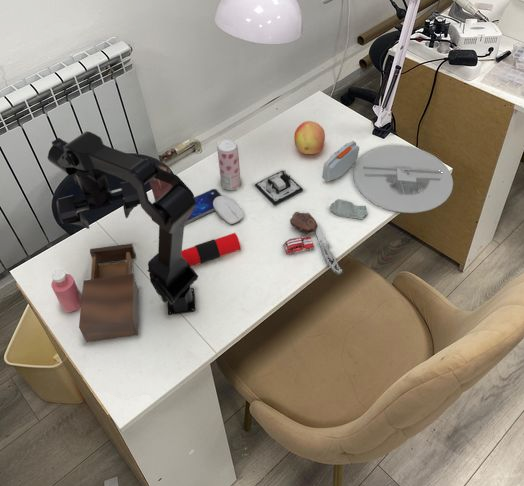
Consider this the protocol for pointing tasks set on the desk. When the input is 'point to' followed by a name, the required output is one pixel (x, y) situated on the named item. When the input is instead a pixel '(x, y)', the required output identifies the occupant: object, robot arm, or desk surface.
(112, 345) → the desk surface
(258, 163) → the desk surface
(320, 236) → the knife
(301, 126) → the apple
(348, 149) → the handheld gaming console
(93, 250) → the drawer
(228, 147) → the beverage can
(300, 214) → the stone
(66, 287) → the lotion bottle
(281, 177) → the light switch
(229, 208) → the computer mouse
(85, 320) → the cabinet
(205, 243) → the dynamite stick
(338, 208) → the stone tool
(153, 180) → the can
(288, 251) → the toy car
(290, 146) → the desk surface
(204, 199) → the smartphone
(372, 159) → the plate
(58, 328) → the desk surface
